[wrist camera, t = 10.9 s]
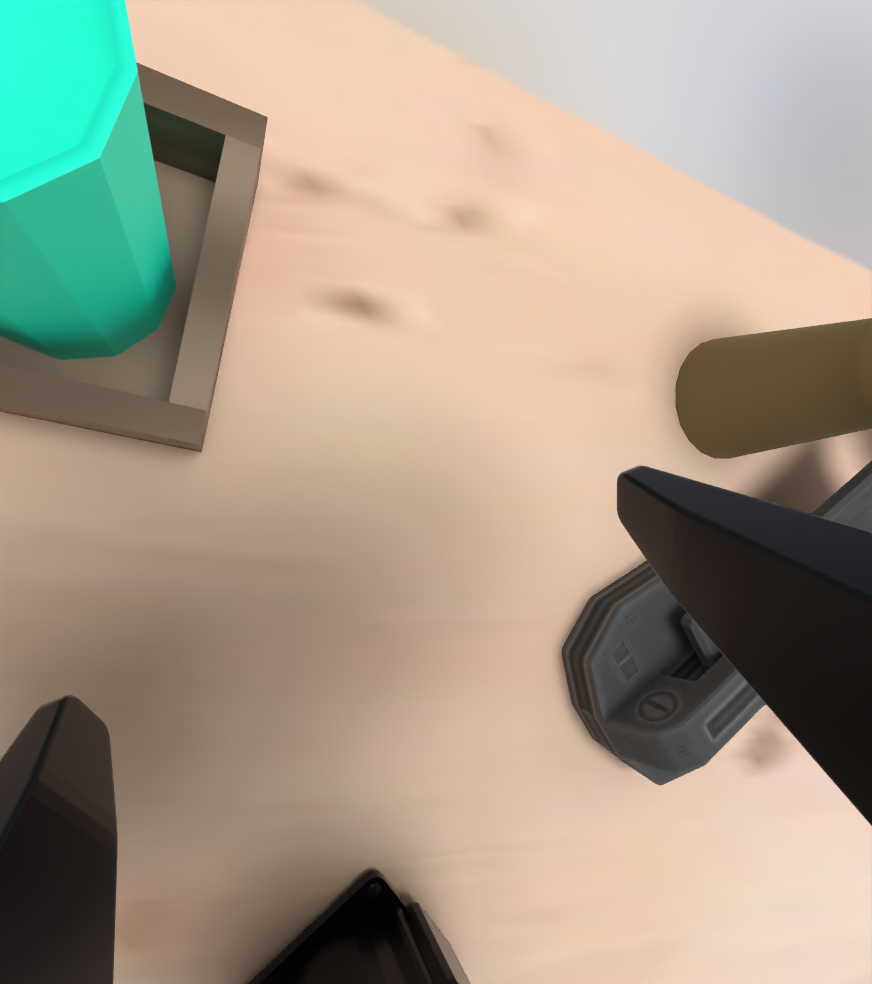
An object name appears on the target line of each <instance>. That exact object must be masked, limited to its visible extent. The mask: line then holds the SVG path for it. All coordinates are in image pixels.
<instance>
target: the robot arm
mask: <svg viewBox="0 0 872 984" xmlns="http://www.w3.org/2000/svg"><path fill="white" fill-rule="evenodd" d="M617 512H618V516H619V519H620V521H621V523H622V524H623V526H624V527H625V529H626V530H627V532H628V533H629V535H630V536H631V537H632V539H633V540H634V542H635V543H636V545H637V546H638V548H639V549H640V551H641V552H642V553H643V555H644V556H645V558H646V559H647V561H648V562H649V564H650V565H651V567H652V568H653V569H654V571H655V572H656V574H657V575H658V577H659V578H660V580H661V581H662V582H663V584H664V585H665V586H666V588H667V589H668V591H669V592H670V593H671V594H672V596H673V597H674V598H675V599H676V600H677V602H678V603H679V604H680V605H681V606H682V607H683V609H684V610H685V611H686V612H687V613H688V614H689V616H690V617H691V618H692V619H693V620H694V621H695V622H696V624H697V625H698V626H699V627H700V628H701V629H702V631H703V632H704V633H705V634H706V635H707V636H708V637H709V639H710V640H711V641H712V642H713V643H714V644H715V646H716V647H717V648H718V649H719V650H720V651H721V652H722V654H723V655H724V656H725V657H726V658H727V659H728V661H729V662H730V663H731V664H732V665H733V666H734V667H735V669H736V670H737V671H738V672H739V673H740V674H741V676H742V677H743V678H744V679H745V680H746V681H747V682H748V684H749V685H750V686H751V687H752V688H753V689H754V691H755V692H756V693H757V694H758V695H759V696H760V698H761V699H762V700H763V701H764V702H765V703H766V704H767V706H768V707H769V708H770V709H771V710H772V711H773V713H774V714H775V715H776V716H777V717H778V718H779V719H780V721H781V722H782V723H783V724H784V725H785V726H786V728H787V729H788V730H789V731H790V732H791V733H792V734H793V736H794V737H795V738H796V739H797V740H798V741H799V743H800V744H801V745H802V746H803V747H804V748H805V749H806V751H807V752H808V753H809V754H810V755H811V756H812V758H813V759H814V760H815V761H816V762H817V763H818V764H819V766H820V767H821V768H822V769H823V770H824V771H825V773H826V774H827V775H828V776H829V777H830V778H831V779H832V781H833V782H834V783H835V784H836V785H837V786H838V788H839V789H840V790H841V791H842V792H843V793H844V794H845V796H846V797H847V798H848V799H849V800H850V801H851V803H852V804H853V805H854V806H855V807H856V808H857V809H858V811H859V812H860V813H861V814H862V815H863V816H864V818H865V819H866V820H867V821H868V822H869V823H870V825H871V826H872V532H870V531H866V530H863V529H860V528H856V527H853V526H849V525H846V524H842V523H839V522H835V521H832V520H829V519H825V518H822V517H818V516H815V515H811V514H808V513H805V512H801V511H798V510H794V509H791V508H787V507H784V506H780V505H777V504H774V503H770V502H767V501H763V500H760V499H756V498H753V497H750V496H746V495H743V494H739V493H736V492H732V491H729V490H725V489H722V488H719V487H715V486H712V485H708V484H705V483H701V482H698V481H695V480H691V479H688V478H684V477H681V476H677V475H674V474H670V473H667V472H664V471H660V470H657V469H653V468H650V467H646V466H637V467H634V468H632V469H629V470H627V471H624V472H622V473H621V474H619V476H618V478H617ZM116 879H117V818H116V807H115V795H114V783H113V772H112V760H111V748H110V737H109V733H108V729H107V727H106V725H105V724H104V722H103V721H102V720H101V719H100V718H99V717H98V716H97V715H95V714H94V713H93V712H92V711H91V710H90V709H89V708H88V707H87V706H86V705H85V704H84V703H82V702H81V701H80V700H79V699H78V698H77V697H75V696H71V695H69V696H64V697H62V698H59V699H57V700H54V701H52V702H49V703H47V704H44V705H43V706H41V707H40V708H39V709H38V710H37V711H36V712H35V713H34V715H33V716H32V717H31V719H30V720H29V721H28V723H27V724H26V726H25V727H24V728H23V730H22V731H21V732H20V734H19V735H18V737H17V738H16V739H15V741H14V742H13V743H12V745H11V746H10V747H9V749H8V750H7V752H6V753H5V754H4V756H3V757H2V758H1V760H0V984H113V971H114V941H115V910H116ZM373 884H377V886H376V888H375V889H373V890H368V889H369V887H370V886H371V885H373ZM249 984H470V982H469V980H468V978H467V976H466V974H465V972H464V970H463V968H462V966H461V964H460V962H459V961H458V959H457V957H456V955H455V953H454V951H453V949H452V947H451V945H450V943H449V942H448V940H447V939H446V938H445V937H444V935H443V934H442V933H441V931H440V930H439V929H438V928H437V926H436V925H435V924H434V922H433V921H432V920H431V919H430V917H429V916H428V915H427V913H426V912H425V911H424V910H423V908H422V907H421V906H420V904H419V903H416V902H410V903H409V904H408V905H406V904H405V903H404V901H403V900H402V899H401V897H400V896H399V895H398V894H397V892H396V891H395V890H394V889H393V887H392V886H391V885H390V883H389V882H388V881H387V880H386V878H385V877H384V876H383V875H382V873H380V872H379V871H375V870H374V871H370V872H368V873H366V874H365V875H364V876H363V877H362V878H361V879H359V880H358V881H357V882H356V883H355V884H354V885H353V886H352V887H351V888H350V889H349V890H348V891H347V892H346V893H345V894H343V895H342V896H341V897H340V898H339V899H338V900H337V901H336V902H335V903H334V904H333V905H332V906H331V907H330V908H329V909H328V910H326V911H325V912H324V913H323V914H322V915H321V916H320V917H319V918H318V919H317V920H316V921H315V922H314V923H313V924H312V925H310V926H309V927H308V928H307V929H306V930H305V931H304V932H303V933H302V934H301V935H300V936H299V937H298V938H297V939H296V940H294V941H293V942H292V943H291V944H290V945H289V946H288V947H287V948H286V949H285V950H284V951H283V952H282V953H281V954H280V955H279V956H277V957H276V958H275V959H274V960H273V961H272V962H271V963H270V964H269V965H268V966H267V967H266V968H265V969H264V970H263V971H261V972H260V973H259V974H258V975H257V976H256V977H255V978H254V979H253V980H252V981H251V982H250V983H249Z"/></svg>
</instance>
